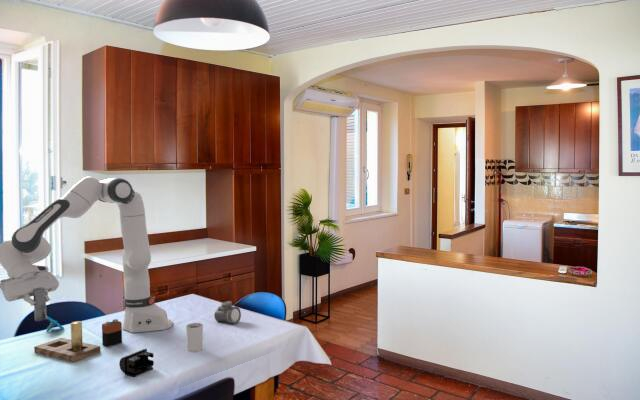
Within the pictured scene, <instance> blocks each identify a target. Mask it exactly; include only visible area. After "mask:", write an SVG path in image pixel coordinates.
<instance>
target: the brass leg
mask: <svg viewBox="0 0 640 400" xmlns="http://www.w3.org/2000/svg"><path fill="white" fill-rule="evenodd" d="M70 338H71V339H70V340H71V346H72V352H78V351H81V350H83V343H84V342H83V322H82V321H80V320H77V321H72V322H71V323H70Z"/></svg>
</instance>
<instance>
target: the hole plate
mask: <svg viewBox="0 0 640 400" xmlns="http://www.w3.org/2000/svg"><path fill="white" fill-rule="evenodd" d="M33 348H34V349H33V350H34V353H35V354H38V355H42V356H46V357H52V358H55V359H59V360H63V361H66V362H71V363H77V362H79V361H82V360H83V359H84V360H85V359H87V358H89V357H92V356H94V355H97V354H99V353H101V346H100V345H96V344H92V343H87V342H83V350H81V351H78V352H72V346H71V339H69V338H65V337H59V338H56V339H54V340H50V341H47V342H45V343H41V344H38V345H36V346H33Z"/></svg>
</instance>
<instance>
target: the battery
mask: <svg viewBox="0 0 640 400" xmlns="http://www.w3.org/2000/svg"><path fill="white" fill-rule="evenodd" d="M122 323H123V322H121V321H119V319H118V318H117V319H116V318H115V319H113V320H112V321H106V322H105V323H102V324H101V336H102V341H101V342H102V346H105V347H107V348H109V347H112V346H116V345H119V344H122V343H123V329H122V327H123V324H122Z"/></svg>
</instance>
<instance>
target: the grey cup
mask: <svg viewBox="0 0 640 400" xmlns="http://www.w3.org/2000/svg"><path fill="white" fill-rule="evenodd" d="M203 330H204V324H203V323H201V322H192V323H188V324H187V325H186V338H187V339H186V341H187V351H188V352H191V353H195V352H200V351H203V335H204V331H203Z"/></svg>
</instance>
